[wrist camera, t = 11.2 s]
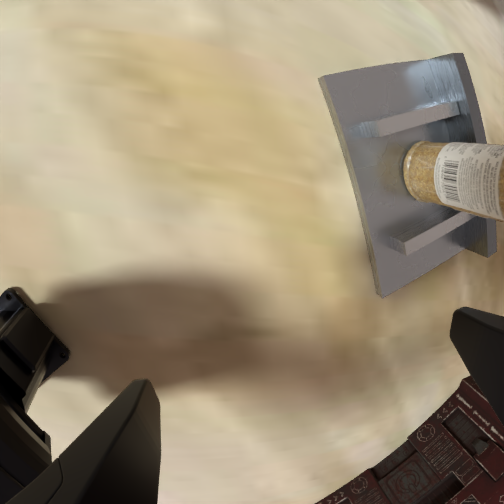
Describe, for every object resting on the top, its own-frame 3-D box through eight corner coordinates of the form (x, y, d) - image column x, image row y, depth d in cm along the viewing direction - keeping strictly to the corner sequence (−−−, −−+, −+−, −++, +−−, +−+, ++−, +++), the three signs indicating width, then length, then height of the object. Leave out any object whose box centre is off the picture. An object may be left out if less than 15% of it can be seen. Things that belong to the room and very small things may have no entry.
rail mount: (376, 294, 23) (404, 314, 20) (317, 78, 18) (344, 65, 14) (468, 240, 24) (496, 251, 21) (431, 60, 19) (462, 52, 15)
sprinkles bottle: (438, 205, 21) (590, 255, 9) (395, 196, 20) (571, 249, 8) (446, 148, 20) (601, 169, 8) (403, 132, 19) (583, 140, 6)
